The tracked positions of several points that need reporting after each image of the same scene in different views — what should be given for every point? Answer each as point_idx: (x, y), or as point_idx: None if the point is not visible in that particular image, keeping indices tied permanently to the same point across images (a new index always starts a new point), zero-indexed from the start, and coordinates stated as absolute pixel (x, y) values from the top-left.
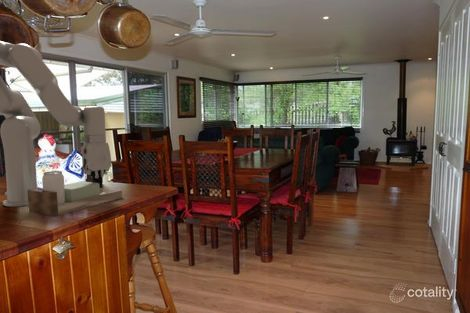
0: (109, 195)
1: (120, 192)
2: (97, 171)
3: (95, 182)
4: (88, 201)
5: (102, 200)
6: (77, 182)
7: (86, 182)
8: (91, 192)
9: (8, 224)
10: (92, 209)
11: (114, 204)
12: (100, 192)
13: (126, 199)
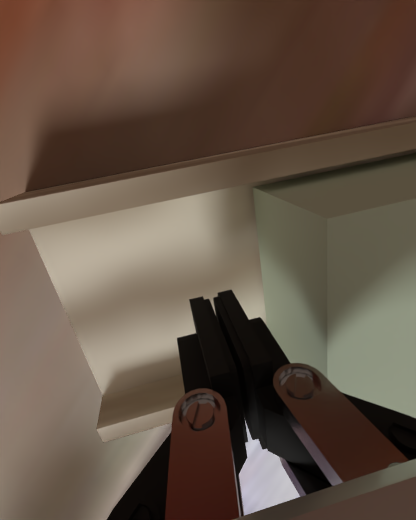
0: (177, 166)
1: (26, 195)
2: (341, 476)
3: (274, 345)
4: (399, 122)
5: (251, 150)
6: None
7: (355, 371)
8: (382, 177)
9: None
10: (408, 21)
11: (214, 5)
12: (116, 392)
13: (25, 91)
